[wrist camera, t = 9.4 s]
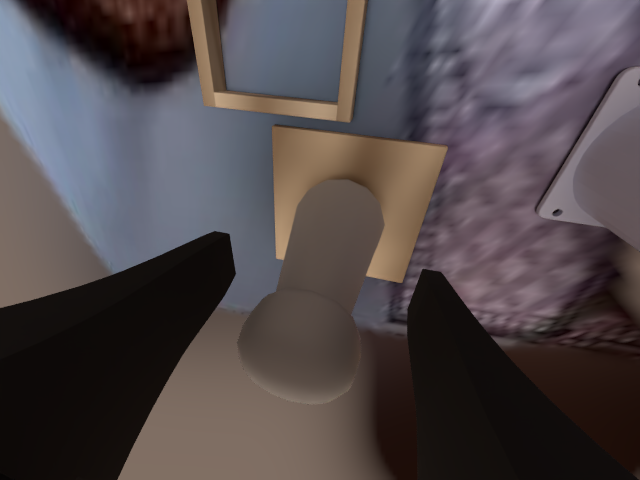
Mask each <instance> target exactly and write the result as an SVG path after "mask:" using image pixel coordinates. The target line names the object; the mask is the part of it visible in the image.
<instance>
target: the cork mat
mask: <svg viewBox="0 0 640 480" xmlns="http://www.w3.org/2000/svg"><path fill="white" fill-rule="evenodd" d="M272 141H273V173H274V204H275V236H276V258H277V259H282V260H284V257H285V253H286V249H287V245H288V241H289V237H290V233H291V229H292V225H293V221H294V217H295V212H296V208H297V205H298V204H299V202H300V201H301V199H302V198H303V197H304V195H305V194H306V192H307V191H308V190H309V189H310V188H312V187H314V186H316V185H318V184H320V183H322V182H324V181H326V180H332V179H349V180H351V181H353V182H355V183H357V184H360V185H362V186H364V187H366V188H368V189H369V191H370V192H371V193H372V194H373V195H374V197H375V198H376V199H377V200H378V201H379V202H380V205H381V210H382V214H383V219H384V223H385V226H384V229H383V232H382V235H381V238H380V241H379V243H378V246H377V248H376V251H375V253H374V255H373V258H372V260H371V263H370V266H369V268H368V271H367V274H366V276H369V277H374V278H379V279H384V280H389V281H394V282H399V283H402V281H403V278H404V276H405V273H406V270H407V267H408V264H409V261H410V258H411V255H412V252H413V249H414V246H415V243H416V240H417V237H418V234H419V231H420V228H421V226H422V223H423V220H424V217H425V214H426V211H427V208H428V205H429V202H430V199H431V196H432V193H433V190H434V187H435V184H436V181H437V178H438V176H439V173H440V170H441V167H442V164H443V161H444V158H445V155H446V152H447V149H448V147H447V146H446V145H440V144H432V143H424V142H415V141H407V140H399V139H391V138H382V137H374V136H366V135H358V134H350V133H341V132H333V131H325V130H317V129H309V128H300V127H292V126H284V125H276V124H275V125H273V126H272Z"/></svg>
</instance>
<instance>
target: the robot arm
mask: <svg viewBox="0 0 640 480" xmlns="http://www.w3.org/2000/svg"><path fill="white" fill-rule="evenodd" d="M639 79H640V67H630V68H628V69H625V70H624V71H622V72H621V73H620V74H619V75H618V76H617V77H616V79H615V80H614V82H613V84H612V85H611V87H610V89H609V90H608V92H607V94H606V95H605V97H604V99H603V100H602V102H601V104H600V105H599V107H598V108H597V110H596V112H595V113H594V115H593V117H592V118H591V120H590V122H589V123H588V125H587V127H586V128H585V130H584V132H583V133H582V135H581V136H580V138H579V140H578V141H577V143H576V145H575V146H574V148H573V150H572V151H571V153H570V155H569V156H568V158H567V160H566V161H565V163H564V164H563V166H562V168H561V169H560V171H559V173H558V174H557V176H556V178H555V179H554V181H553V183H552V184H551V186H550V188H549V189H548V191H547V193H546V194H545V196H544V197H543V199H542V201H541V202H540V204H539V206H538V207H537V210H536V212H537V214H538V215H539V216H540V217H542V218H546V219H552V220H559V221H565V222H572V223H579V224H585V225H592V226H599V227H605V228H608V229H609V230H610V231H612V232H613V233H614V234H616V235H617V236H619V237H620V238H621V239H623V240H624V241H625V242H627V243H628V244H630V245H631V246H632V247H634V248H635V249H637V250H638V251H639V252H640V85H639V86H638V81H639ZM557 209H559V211H558V212H557V213H555V214H552V213H553V211H554V210H557ZM235 275H236V272H235V266H234V260H233V253H232V247H231V241H230V235H229V234H227V233H222V232H216V231H214V232H211V233H209V234H206V235H204V236H202V237H199V238H197V239H195V240H193V241H190V242H188V243H186V244H184V245H182V246H179V247H177V248H175V249H173V250H171V251H169V252H166V253H164V254H162V255H160V256H157V257H155V258H153V259H150V260H148V261H146V262H143V263H141V264H138V265H136V266H134V267H131V268H129V269H126V270H124V271H121V272H119V273H116V274H113V275H111V276H108V277H105V278H102V279H99V280H96V281H94V282H91V283H88V284H85V285H82V286H79V287H75V288H72V289H69V290H65V291H62V292H58V293H55V294H52V295H48V296H45V297H41V298H38V299H34V300H31V301H27V302H23V303H19V304H15V305H11V306H7V307H4V308H0V480H117V479H118V477H119V475H120V473H121V470H122V468H123V466H124V464H125V462H126V460H127V458H128V456H129V453H130V451H131V449H132V447H133V445H134V443H135V441H136V439H137V437H138V435H139V433H140V431H141V429H142V427H143V425H144V424H145V422H146V420H147V418H148V416H149V414H150V412H151V410H152V408H153V406H154V404H155V403H156V401H157V398H158V397H159V395H160V393H161V391H162V390H163V388H164V386H165V384H166V382H167V381H168V379H169V377H170V375H171V374H172V372H173V370H174V369H175V367H176V365H177V364H178V362H179V360H180V358H181V357H182V355H183V354H184V352H185V351H186V349H187V348H188V346H189V345H190V343H191V342H192V340H193V339H194V338H195V336H196V335H197V333H198V332H199V331H200V329H201V328H202V326H203V325H204V324H205V322H206V321H207V320H208V318H209V317H210V316H211V314H212V313H213V311H214V310H215V309H216V307H217V306H218V304H219V303H220V301H221V300H222V299H223V297H224V296H225V294H226V292H227V290H228V288H229V287H230V285H231V283H232V281H233V279H234V277H235ZM407 336H408V345H409V354H410V362H411V370H412V379H413V387H414V395H415V404H416V417H417V452H418V480H638V479H637V478H636V477H635V476H634V475H633V474H631V473H630V472H629V471H628V470H627V469H625V468H624V467H623V466H622V465H621V464H620V463H619V462H617V461H616V460H615V459H614V458H613V457H612V456H611V455H609V454H608V453H607V452H606V451H605V450H604V449H602V448H601V447H600V446H599V445H598V444H597V443H596V442H595V441H594V440H592V439H591V438H590V437H589V436H588V435H587V434H586V433H585V432H584V431H583V430H582V429H581V428H579V427H578V426H577V425H576V424H575V423H574V422H573V421H572V420H571V419H570V418H568V416H566V415H565V414H564V413H563V412H562V411H561V410H560V409H559V408H558V407H557V406H556V405H555V404H554V403H553V402H552V401H550V399H548V398H547V396H545V395H544V394H543V392H542V391H541V390H539V389H538V387H537V386H536V385H535V384H534V383H533V382H532V381H531V380H530V379H529V378H528V377H527V376H526V375H525V374H524V373H523V372H522V371H521V370H520V369H519V368H518V367H517V366H516V365H515V364H514V363H513V362H512V361H511V359H510V358H509V357H508V356H507V355H506V354H505V352H504V351H503V350H502V349H501V348H500V347H499V346H498V344H497V343H496V342H495V341H494V340H493V339H492V338H491V336H490V335H489V334H488V333H487V332H486V330H485V329H484V328H483V327H482V325H481V324H480V323H479V322H478V320H477V319H476V318H475V317H474V315H473V314H472V313H471V311H470V310H469V309H468V308H467V306H466V305H465V304H464V302H463V301H462V300H461V298H460V297H459V296H458V294H457V293H456V292H455V290H454V289H453V287H452V286H451V285H450V283H449V282H448V281H447V279H446V278H445V276H444V275H443V274H442V273H441V272H438V271H432V270H427V269H422V272H421V275H420V277H419V280H418V283H417V285H416V288H415V291H414V293H413V296H412V299H411V301H410V304H409V307H408V317H407Z"/></svg>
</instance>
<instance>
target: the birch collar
mask: <svg viewBox="0 0 640 480" xmlns="http://www.w3.org/2000/svg"><path fill="white" fill-rule="evenodd" d="M187 3H188V10H189V16H190V22H191V28H192V34H193V40H194V46H195V53H196V59H197V65H198V71H199V77H200V83H201V90H202V96H203V102H204V106H212V107H220V108H229V109H238V110H246V111H255V112H264V113H272V114H281V115H290V116H298V117H307V118H316V119H324V120H333V121H341V122H350V121H351V120H352V119H353V111H354V104H355V96H356V88H357V81H358V73H359V65H360V57H361V50H362V42H363V34H364V27H365V19H366V11H367V3H368V0H348V3H347V14H346V24H345V34H344V44H343V55H342V65H341V75H340V86H339V96H338V102H330V101H321V100H311V99H302V98H292V97H283V96H273V95H264V94H254V93H245V92H235V91H226V83H225V74H224V65H223V57H222V48H221V40H220V31H219V22H218V14H217V5H216V0H187Z"/></svg>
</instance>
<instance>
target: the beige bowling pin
mask: <svg viewBox="0 0 640 480" xmlns="http://www.w3.org/2000/svg"><path fill="white" fill-rule="evenodd" d="M384 226H385V223H384V219H383V214H382V210H381V205H380V202H379V201H378V200H377V199H376V198H375V197H374V195H373V194H372V193H371V192H370V191H369V189H368V188H366V187H364V186H362V185H360V184H357V183H355V182H353V181H351V180H349V179H332V180H326V181H324V182H322V183H320V184H318V185H316V186H314V187H312V188H310V189H309V190H308V191H307V192H306V194H305V195H304V197H303V198H302V199H301V201H300V202H299V204H298V205H297V208H296V212H295V217H294V221H293V225H292V229H291V233H290V237H289V241H288V245H287V249H286V253H285V257H284V261H283V265H282V269H281V273H280V277H279V281H278V285H277V290H276V292H274V293H271V294H268V295H267V296H266V297H265V298H263V299H262V300H261V302H260V303H259V304H258V305H257V306H256V307H255V309H254V310H253V311H252V312H251V314H250V315H249V317H248V318H247V320H246V322H245V323H244V325H243V327H242V330H241V333H240V336H239V339H238V342H237V344H238V354H239V359H240V362H241V364H242V367H243V369H244V370H245V372H246V373H247V374H248V376H249V377H250V378H251V380H252V381H253V382H254V383H256V384H257V385H259V386H260V387H262V388H263V389H264V390H266V391H267V392H269V393H271V394H273V395H276V396H278V397H281V398H283V399H285V400H288V401H293V402H298V403H304V404H322V403H323V404H324V403H328V402H330V401H332V400H334V399H336V398H337V397H339V396H341V395H342V394H344V393H345V392H347V391H348V390H349V389H350V387H351V385H352V382H353V380H354V378H355V375H356V372H357V368H358V365H359V361H360V357H361V339H360V336H359V332H358V330H357V327H356V324H355V321H354V319H353V316H352V315H351V314H352V311H353V308H354V306H355V303H356V300H357V298H358V295H359V292H360V290H361V287H362V284H363V282H364V279H365V276H366V274H367V271H368V268H369V266H370V263H371V260H372V258H373V255H374V253H375V251H376V248H377V246H378V243H379V241H380V238H381V235H382V232H383V229H384Z"/></svg>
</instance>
